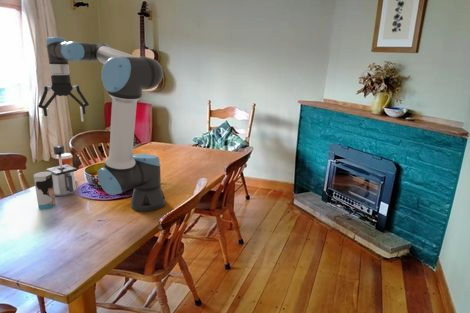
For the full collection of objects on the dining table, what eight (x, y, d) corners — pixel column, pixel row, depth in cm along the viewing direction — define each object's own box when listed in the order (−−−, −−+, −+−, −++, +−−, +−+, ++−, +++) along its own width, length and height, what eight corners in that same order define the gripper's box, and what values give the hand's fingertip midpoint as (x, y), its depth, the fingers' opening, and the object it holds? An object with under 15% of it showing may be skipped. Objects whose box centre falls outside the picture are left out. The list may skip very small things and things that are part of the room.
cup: (53, 209, 141) (49, 176, 137) (36, 210, 139) (31, 177, 135) (57, 202, 147) (53, 171, 143) (41, 203, 146) (36, 172, 141)
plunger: (75, 188, 158) (70, 146, 153) (60, 192, 153) (54, 149, 147) (67, 184, 163) (62, 143, 157) (52, 189, 157) (46, 146, 151)
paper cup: (68, 182, 170) (65, 157, 166) (55, 181, 172) (52, 155, 168) (78, 177, 178) (75, 153, 174) (66, 176, 179) (63, 152, 175)
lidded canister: (83, 193, 158) (80, 169, 154) (61, 200, 150) (58, 175, 146) (69, 186, 165) (66, 163, 162) (48, 193, 157) (44, 168, 154)
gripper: (89, 74, 154) (94, 119, 159) (27, 74, 142) (34, 122, 147) (91, 74, 147) (96, 121, 153) (26, 74, 135) (34, 125, 141)
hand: (66, 122), depth 150 cm, fingers open, 13 cm apart
